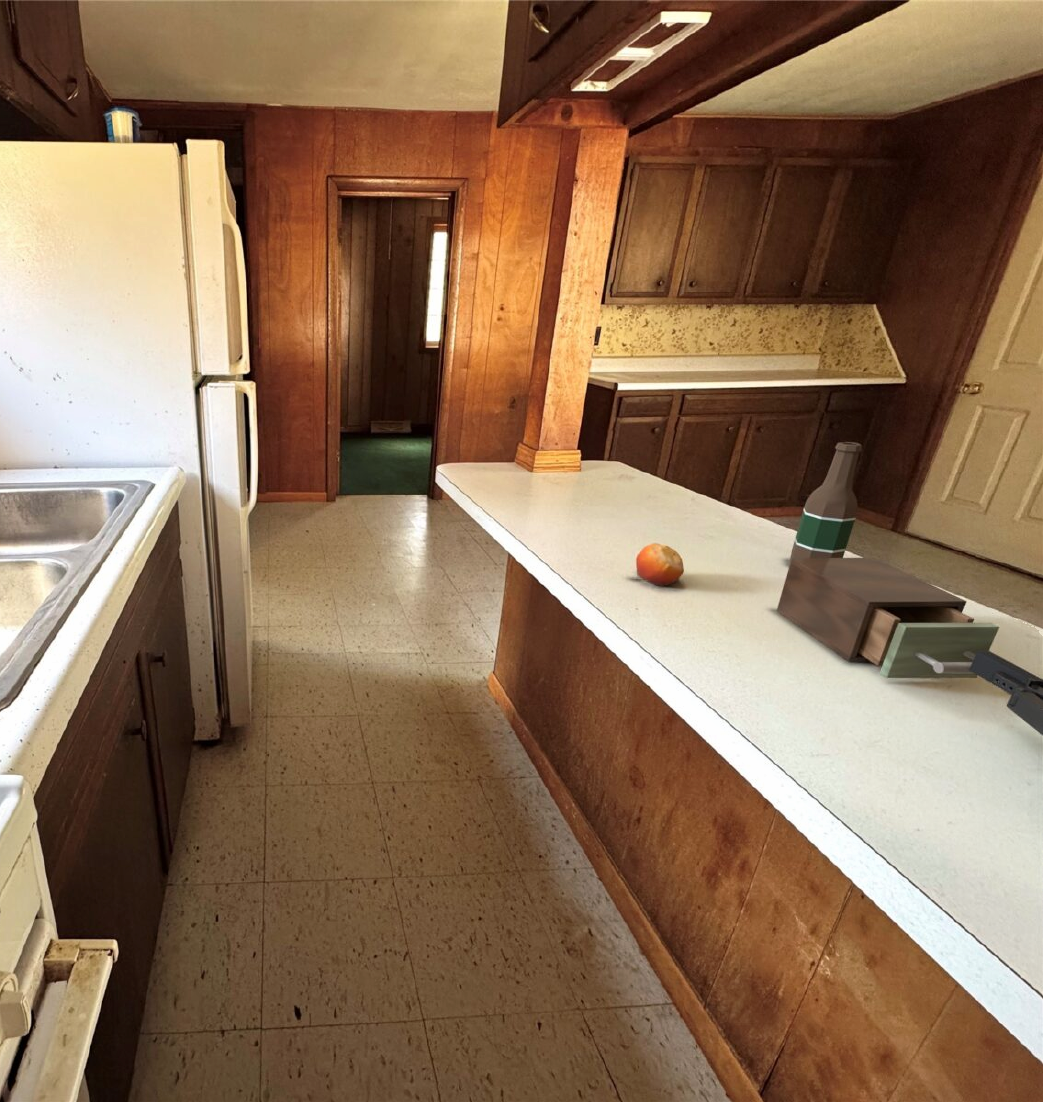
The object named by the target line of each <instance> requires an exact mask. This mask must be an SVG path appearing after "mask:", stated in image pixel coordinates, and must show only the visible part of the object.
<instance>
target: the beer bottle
mask: <svg viewBox="0 0 1043 1102" xmlns="http://www.w3.org/2000/svg"><path fill="white" fill-rule="evenodd" d="M834 449H836V450H835V453H834V456H833V459H832V461H831V464H830V467H829V469H828V472H827V474H826V477H825V478H824V480H823V482H822V484H821V485H820V486H819V487H817V488H816V489H815V490H813V491H812V492H811V494H810V495H809V496H808V497H807V498H806V502H805V504H804V507H803V510H802V513H801V518H800V520H799V524H798V528H797V531H796V535H795V538H794V541H793V545H792V548H791V553H790V557H789V561H791V559H792V558H844V555H845V553H846V549H847V548H848V547H847V546H848V544H849V540H850V537H851V534H852V531H853V528H854V524H855V521H856V518H857V514H858V509H859V507H858V499H857V497H856V495H855V493H854V491H853V481H854V477H855V472H856V469H857V464H858V459H859V455H860V452H862V451H863V445H862V444H861V443H859V442H853V441H852V442H851V441H841V442H840V441H839V442H837V444H836V446H835V447H834Z"/></svg>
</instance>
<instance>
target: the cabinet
mask: <svg viewBox="0 0 1043 1102" xmlns="http://www.w3.org/2000/svg"><path fill="white" fill-rule="evenodd" d="M966 605H967V600H965V599H963V598H960V597H958V596H957V595H954V594H952V593H950V592H947V591H946V590H944V589H942V588H939V587H937V586H935V585H934V584H931V583H929V582H927V581H925V580H922V579H920V578H918V577H917V576H914V575H912V574H911V573H908V572H905V571H904V570H901V569H899V568H897V567H895V566H893V565H890V564H889V563H886V562H884V561H882V560H881V559H878V558H876V557H843V558H792V559H791V560H790V563H789V566H788V570H787V572H786V576H785V579H784V584H783V587H782V591H781V594H780V597H779V601H778V604H777V608H776V612H777V613H779V614H780V615H781V616H783V617H784V618H786V620H788V621H790V622H791V623H793V624H794V625H795V626H797V627H798V628H800V629H801V630H803V631H804V632H805V633H807V634H808V635H810V636H811V637H812V638H814V639H815V640H817V641H818V642H820V643H821V644H822V645H824V646H826V647H827V648H828V649H830V650H831V651H833V652H834V653H835V654H837V655H838V656H840V657H841V658H842V659H843V660H845V661H846V662H848V663H855V662H856V663H858V662H859V663H872V662H871V661H870V660H868V659H867V658H865V657H864V656H862V655H861V654H859V653H858V650H859V647H860V644H861V641H862V638H863V635H864V632H865V630H866V627H867V624H868V621H869V618H870V615H871V613H872V610H873V607H947V606H949V607H951V608H953V609H955V610H957V611H959V612H961V613H963V612H964V609H965V606H966Z"/></svg>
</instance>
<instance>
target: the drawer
mask: <svg viewBox="0 0 1043 1102" xmlns="http://www.w3.org/2000/svg"><path fill="white" fill-rule="evenodd" d="M974 621H975V618H974V617H972V616H970V615H967V614H965V613H964V612H962V613H961V612H959V611H957V610H955V609H953V608H951V607H949V606H947V607H873V610H872V613H871V615H870V618H869V621H868V624H867V627H866V630H865V632H864V635H863V638H862V641H861V644H860V647H859V650H858V653H859V654H861V655H862V656H864V657H865V658H867V659H868V660H870V661H871V662H870V663H872V664H874V665H876V666H878V667H881V669H880V671H879V674H880V675H882V676H883V677H885V678H886V679H978V677H979V676H978V675H976V674H975V673H973V672H971V671H969V669H970V667H971V664H972V662H973V660H974V658H975V655H976V653H977V651H990V650H991V647H992V645H993V643H994V641H995V639H996V638H995V637H997V634H998V632H999V629H1000V626H998V625H997V624H995V623H993V622H974Z"/></svg>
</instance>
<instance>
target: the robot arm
mask: <svg viewBox="0 0 1043 1102" xmlns="http://www.w3.org/2000/svg"><path fill="white" fill-rule="evenodd" d="M969 671H971V672H973V673H975V674H976V675H978V677H979V678H982V680H984V681H987V682H988V683H990V684H991V685H993V686H995V687H997V688H998V689H1000V690H1002V691H1004V692H1005V693H1007V694H1008V695H1010V697H1009V699H1008V701H1007V704H1006V708H1008V709H1009V710H1010V711H1011V712H1013V713H1014V714H1015V715H1016V716H1017V717H1019V718H1020V719H1021V720H1023V722H1025V723H1026V724H1027V725H1029V726H1030V727H1031V728H1032V729H1034V730H1035V731H1037V732H1038V734H1040V735H1041V736H1043V678H1041V677H1039V676H1038V675H1036V674H1034V673H1032V672H1029V670H1026V669H1024V668H1022V667H1020V666H1018V665H1016V664H1014V663H1013V662H1011V661H1009V660H1008V659H1005V658H1003V657H1002V656H1000V655H997V654H996V653H994V652H992V651H990V650H989V651H977V653H976V655H975V658H974V660H973V662H972V664H971V667H970V669H969Z"/></svg>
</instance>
